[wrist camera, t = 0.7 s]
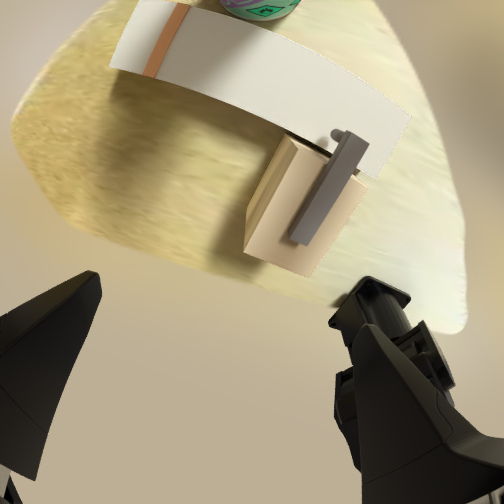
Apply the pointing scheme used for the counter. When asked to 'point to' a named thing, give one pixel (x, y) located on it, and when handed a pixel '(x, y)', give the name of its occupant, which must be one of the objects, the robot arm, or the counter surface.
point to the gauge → (304, 202)
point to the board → (260, 76)
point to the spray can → (260, 8)
